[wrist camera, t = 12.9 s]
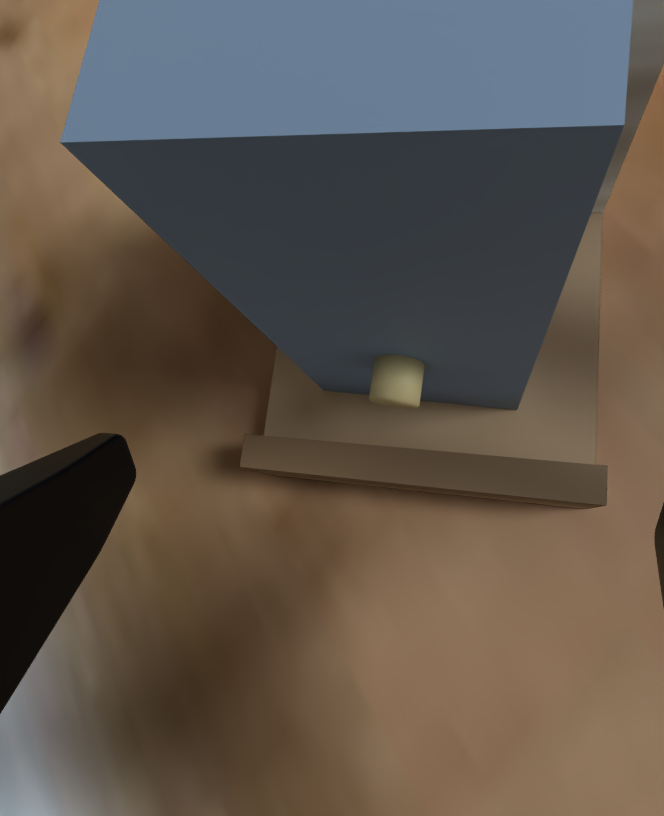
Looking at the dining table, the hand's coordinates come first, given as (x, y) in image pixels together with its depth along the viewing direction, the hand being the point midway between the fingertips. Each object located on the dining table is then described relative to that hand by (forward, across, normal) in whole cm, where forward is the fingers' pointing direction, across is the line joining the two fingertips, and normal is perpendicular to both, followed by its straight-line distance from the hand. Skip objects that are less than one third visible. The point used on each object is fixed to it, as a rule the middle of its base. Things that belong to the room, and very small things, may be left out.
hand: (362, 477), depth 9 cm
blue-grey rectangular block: (+10, 0, +1) cm, 10 cm away
